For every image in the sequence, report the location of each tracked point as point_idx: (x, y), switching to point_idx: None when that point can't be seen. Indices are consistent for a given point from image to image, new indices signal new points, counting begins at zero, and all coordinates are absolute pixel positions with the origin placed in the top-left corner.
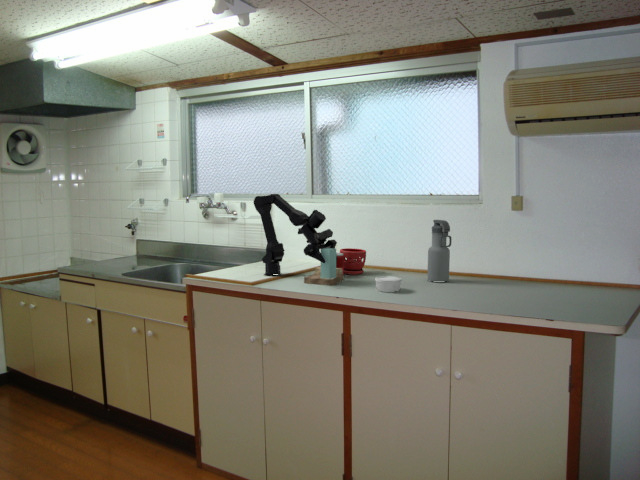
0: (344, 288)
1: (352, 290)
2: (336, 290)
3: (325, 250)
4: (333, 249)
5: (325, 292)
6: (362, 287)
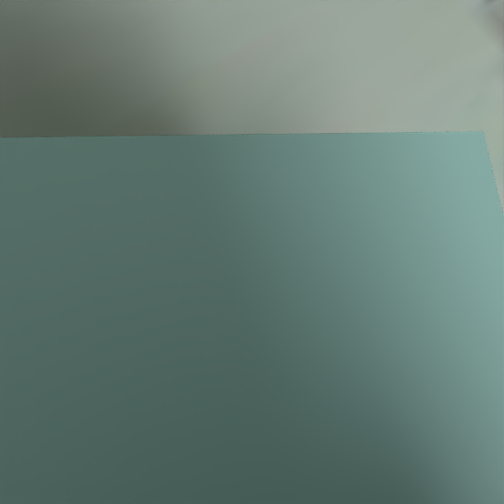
0: (272, 99)
1: (284, 16)
2: (369, 105)
3: (497, 337)
4: (225, 142)
5: (470, 126)
6: (136, 10)
